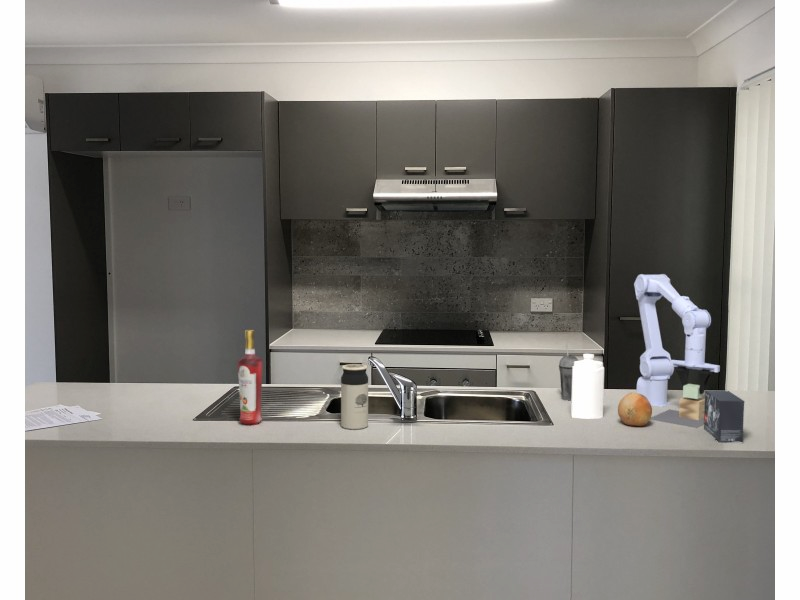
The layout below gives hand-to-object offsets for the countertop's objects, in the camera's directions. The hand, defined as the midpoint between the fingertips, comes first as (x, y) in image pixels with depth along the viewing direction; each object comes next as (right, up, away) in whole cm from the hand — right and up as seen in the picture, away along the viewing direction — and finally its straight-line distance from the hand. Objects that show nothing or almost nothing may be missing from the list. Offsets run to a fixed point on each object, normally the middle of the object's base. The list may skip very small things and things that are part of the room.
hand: (693, 392), depth 222 cm
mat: (-4, -8, -1) cm, 9 cm away
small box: (0, -10, -20) cm, 22 cm away
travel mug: (-105, -9, -12) cm, 106 cm away
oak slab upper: (0, -5, 0) cm, 5 cm away
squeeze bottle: (-33, -8, 0) cm, 34 cm away
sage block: (0, -2, 0) cm, 2 cm away
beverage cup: (-33, -6, +25) cm, 42 cm away
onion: (-22, -9, -9) cm, 25 cm away
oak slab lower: (0, -8, +1) cm, 8 cm away
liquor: (-136, -8, -9) cm, 137 cm away
